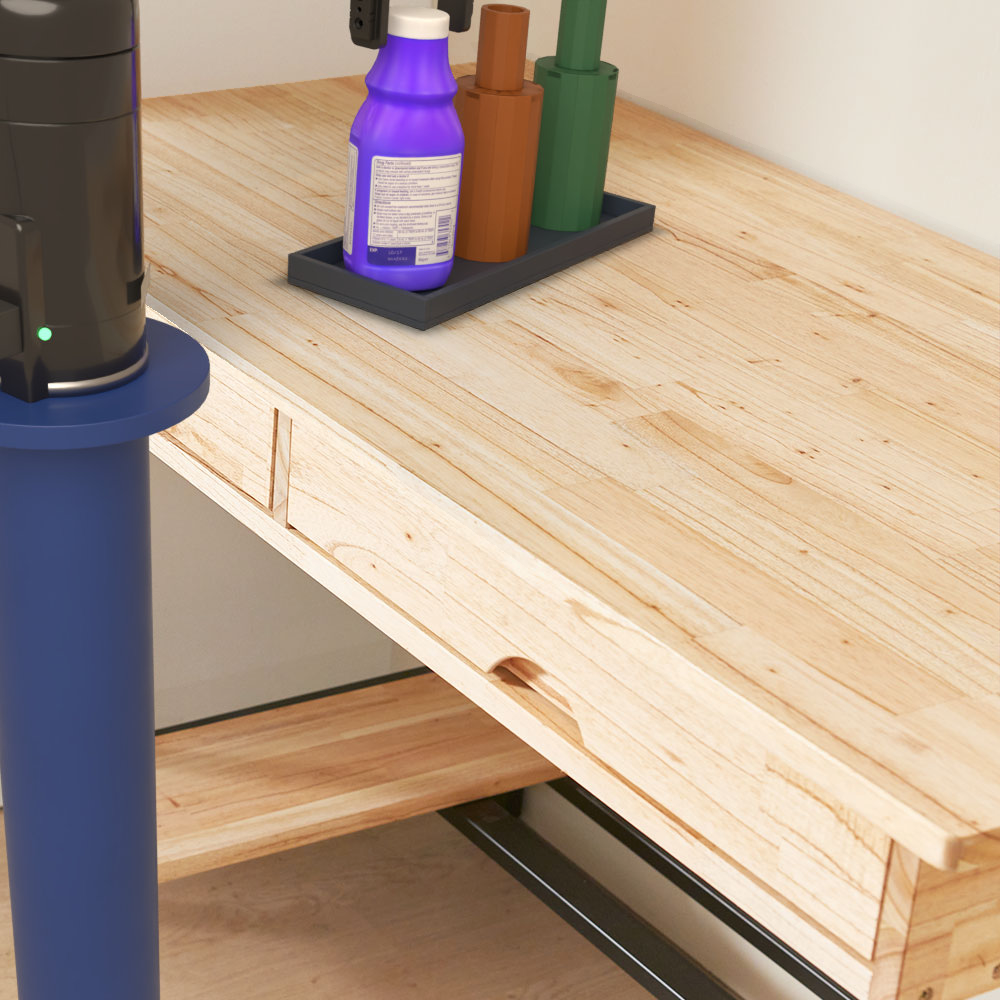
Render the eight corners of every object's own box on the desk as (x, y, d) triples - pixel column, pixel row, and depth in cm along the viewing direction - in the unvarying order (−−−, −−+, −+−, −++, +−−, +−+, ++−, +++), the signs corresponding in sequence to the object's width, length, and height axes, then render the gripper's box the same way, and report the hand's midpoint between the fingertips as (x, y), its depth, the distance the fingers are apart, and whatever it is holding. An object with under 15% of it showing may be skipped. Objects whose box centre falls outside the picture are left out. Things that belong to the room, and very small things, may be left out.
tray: (423, 331, 96) (425, 300, 95) (286, 282, 101) (287, 253, 100) (652, 230, 118) (656, 205, 117) (531, 195, 123) (533, 170, 122)
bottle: (431, 263, 105) (450, 1, 97) (465, 293, 101) (488, 20, 93) (331, 271, 102) (341, 0, 94) (361, 301, 98) (375, 20, 90)
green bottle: (571, 243, 113) (599, 5, 105) (504, 223, 116) (526, -10, 108) (613, 226, 118) (642, -3, 110) (547, 207, 120) (571, -18, 112)
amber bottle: (494, 275, 106) (518, 22, 98) (424, 253, 108) (442, 5, 100) (542, 256, 110) (568, 12, 102) (473, 235, 113) (494, -5, 105)
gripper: (451, -259, 94) (431, 15, 101) (297, -267, 83) (287, 40, 91) (555, -245, 90) (526, 37, 98) (407, -252, 79) (388, 66, 87)
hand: (411, 38), depth 94 cm, fingers open, 8 cm apart
